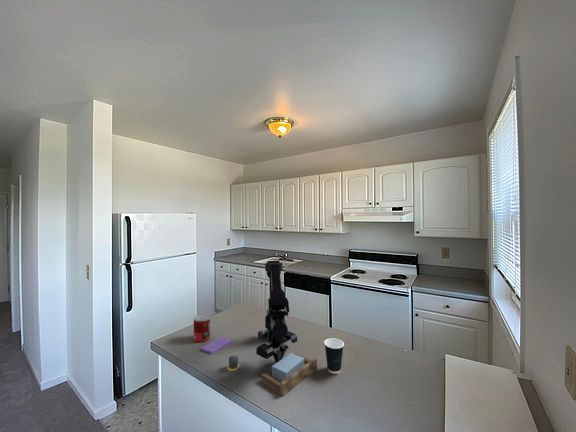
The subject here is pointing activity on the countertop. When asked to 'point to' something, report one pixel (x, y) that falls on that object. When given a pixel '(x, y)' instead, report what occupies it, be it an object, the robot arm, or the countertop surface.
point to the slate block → (287, 366)
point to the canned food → (201, 328)
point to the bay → (291, 377)
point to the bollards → (234, 362)
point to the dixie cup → (334, 354)
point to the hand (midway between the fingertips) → (277, 364)
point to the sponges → (216, 345)
